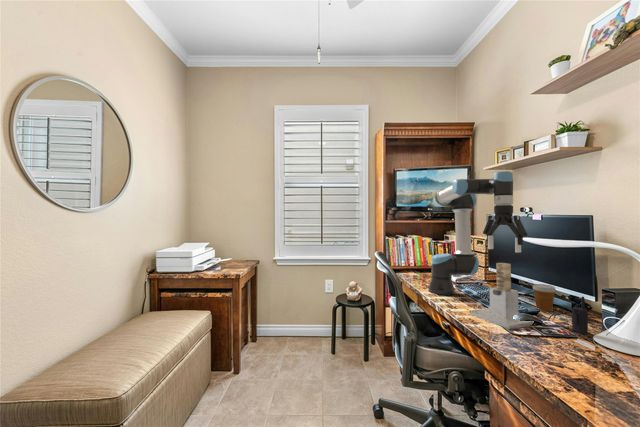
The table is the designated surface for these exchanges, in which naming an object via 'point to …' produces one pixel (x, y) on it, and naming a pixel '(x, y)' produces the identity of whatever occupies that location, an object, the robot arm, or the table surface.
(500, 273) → the post
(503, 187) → the robot arm
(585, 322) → the two-way radio
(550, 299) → the disposable coffee cup
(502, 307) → the stand
